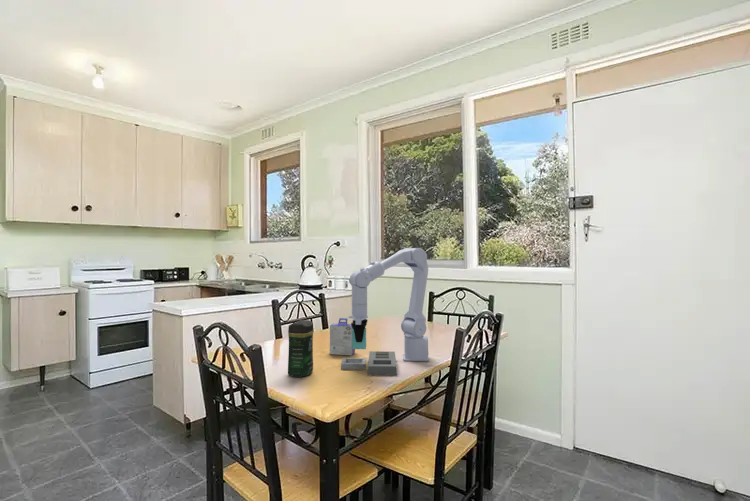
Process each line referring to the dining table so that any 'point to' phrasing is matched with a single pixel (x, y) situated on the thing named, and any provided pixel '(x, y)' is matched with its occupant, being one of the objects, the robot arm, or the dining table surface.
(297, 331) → the coffee jar
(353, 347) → the plug
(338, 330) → the ink cartridge box
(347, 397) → the dining table surface
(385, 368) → the switch box
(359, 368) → the grey rectangular frame
